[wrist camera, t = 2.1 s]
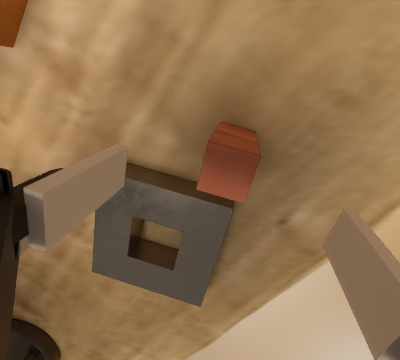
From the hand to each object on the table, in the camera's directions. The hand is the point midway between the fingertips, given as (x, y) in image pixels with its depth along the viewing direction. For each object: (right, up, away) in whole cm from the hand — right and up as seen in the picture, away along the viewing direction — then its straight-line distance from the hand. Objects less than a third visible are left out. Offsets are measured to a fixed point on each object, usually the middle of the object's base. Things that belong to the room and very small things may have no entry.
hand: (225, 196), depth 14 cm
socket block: (-7, -6, +19) cm, 21 cm away
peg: (+2, +5, +13) cm, 14 cm away
